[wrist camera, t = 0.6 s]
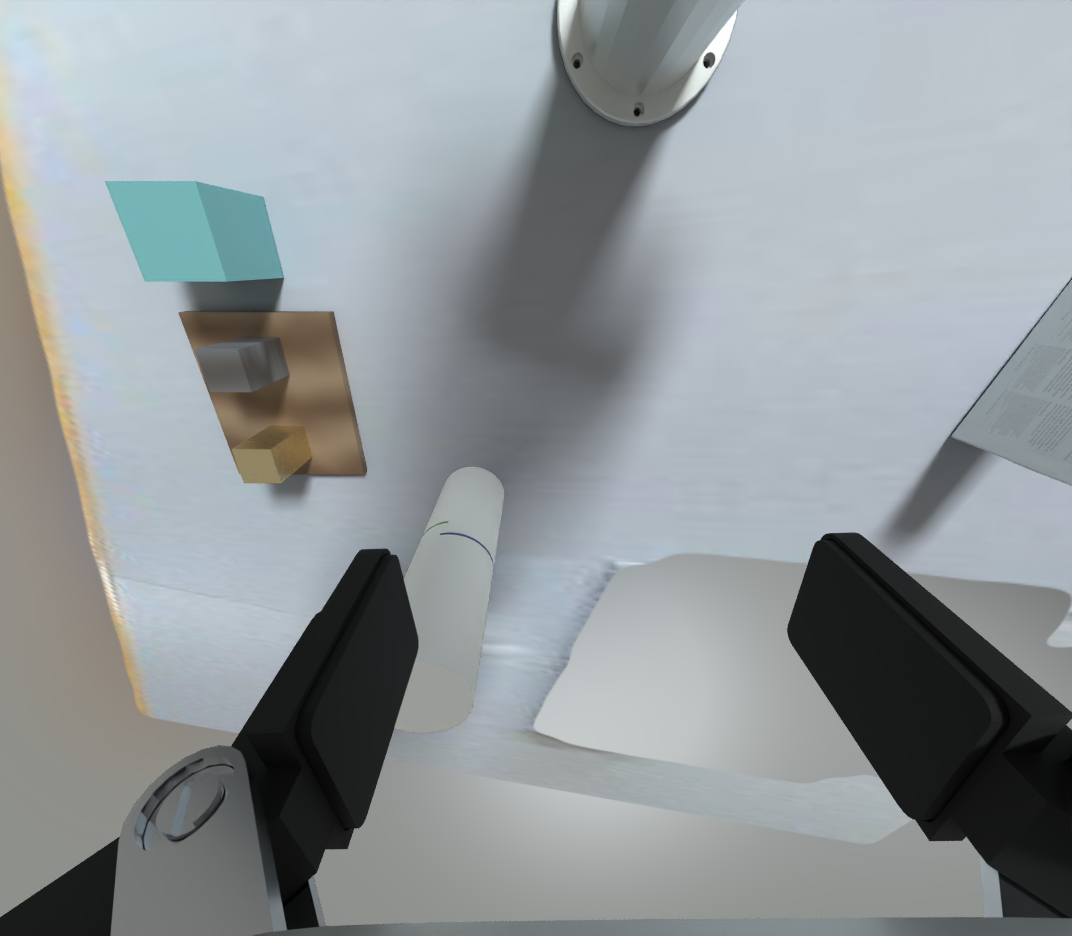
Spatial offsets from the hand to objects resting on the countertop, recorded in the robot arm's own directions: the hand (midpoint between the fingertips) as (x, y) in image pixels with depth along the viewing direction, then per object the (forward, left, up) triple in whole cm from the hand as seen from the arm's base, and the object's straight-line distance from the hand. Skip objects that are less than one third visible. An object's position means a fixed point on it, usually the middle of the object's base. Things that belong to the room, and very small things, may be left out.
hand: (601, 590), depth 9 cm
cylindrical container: (+18, -9, -34) cm, 39 cm away
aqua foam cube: (-8, -28, -34) cm, 45 cm away
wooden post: (+11, -28, -34) cm, 45 cm away
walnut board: (+6, -28, -34) cm, 44 cm away
